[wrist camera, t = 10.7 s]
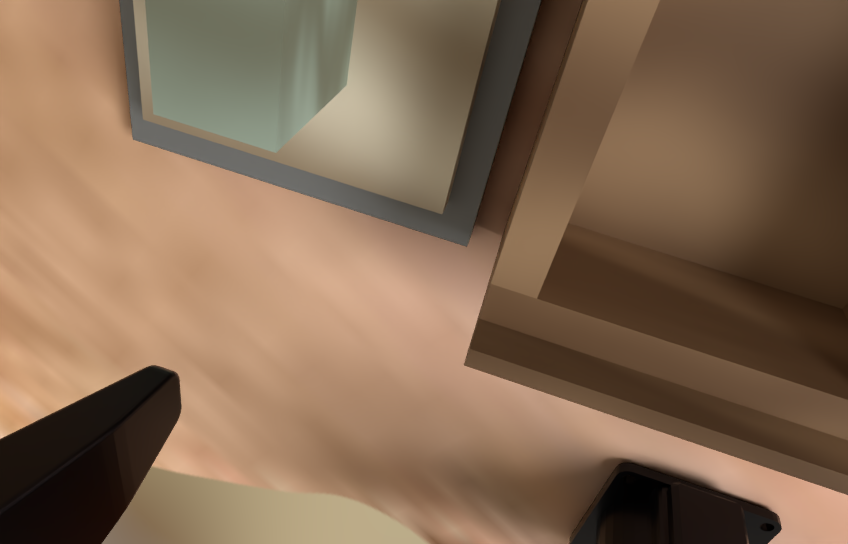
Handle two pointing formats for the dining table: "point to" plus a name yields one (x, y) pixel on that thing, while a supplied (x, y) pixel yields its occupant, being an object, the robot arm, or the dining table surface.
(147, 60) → the cover plate
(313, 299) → the dining table surface
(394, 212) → the rubber mat
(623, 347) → the walnut box
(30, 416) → the dining table surface
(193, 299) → the dining table surface
